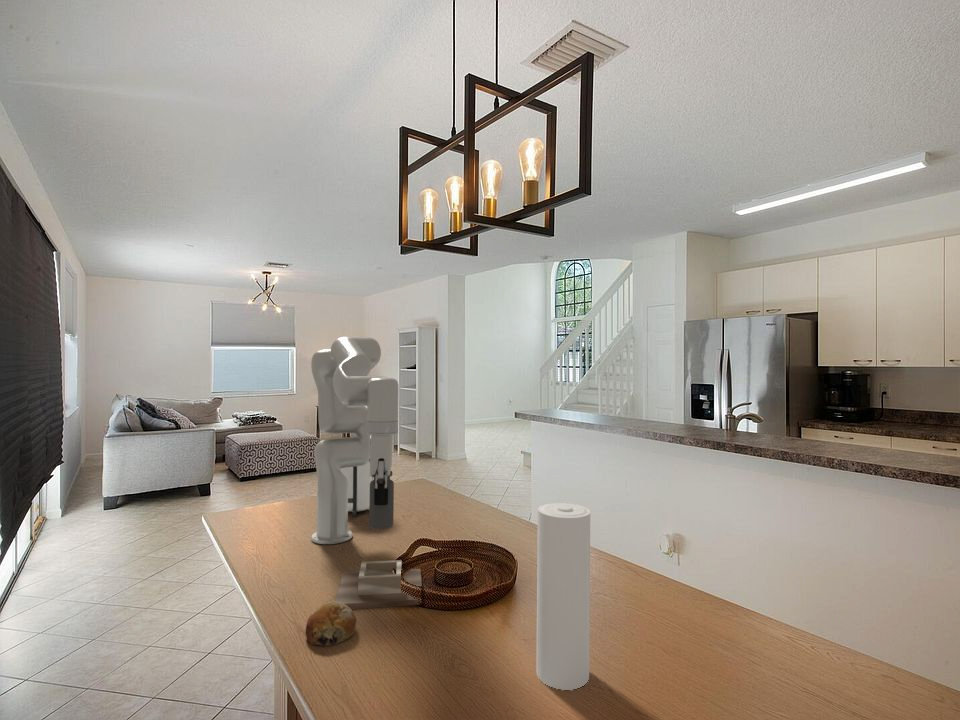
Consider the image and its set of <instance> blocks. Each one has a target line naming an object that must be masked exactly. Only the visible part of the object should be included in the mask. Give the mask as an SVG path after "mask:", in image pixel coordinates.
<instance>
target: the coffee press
mask: <svg viewBox="0 0 960 720" xmlns="http://www.w3.org/2000/svg"><path fill="white" fill-rule="evenodd" d="M352 434H353V433H352ZM353 436H354V434H353ZM370 444H371V440H370ZM340 471H341V472H342V474H343V475H344V476H345V477H346V478H347V481H348V512H352V518H356V517H357V515H358V514H357V512H362V511H367V510H368V509H369V504H370V482H371V481H372V480H374V477H371V476H370V460H369V462H368V463H367V464H366V465H363V466H355V467H345V468H341V469H340Z"/></svg>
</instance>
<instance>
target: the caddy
mask: <svg viewBox="0 0 960 720" xmlns="http://www.w3.org/2000/svg"><path fill="white" fill-rule="evenodd" d="M402 563H403V562H402V559H399V560H398V559H397V560H375V561H372V560H371V561H361V564H360V569H359V571H347V572H346V571H344V572H342V576H341V579H340V583H339V586H338V588H337V592H336V596H335V600H334V602H341V603H343V604H345V605H347V606H348V607H349V608H350V609H351V610H352V609H355V610H356V609H367V608H370V609H371V608H385V607H387V608H388V607H389V608H390V607H402V606H419V605H420V604H419V603H418V600H417V599H414V598H412V597H410V596H408V595H406V594H405V593H403V592H402V591H401V570H402ZM393 568H394V569H395V570H396V574H392V571H393ZM410 569H411V570H410V571H409V572H407V573H406V574H405V576H404V577H403V578H404V580H405V581H406V582H408V583H410V584H413V585H416V586H422V587H423V585H422V583H423V582H422V573H421V572H422V569H421V568H410Z"/></svg>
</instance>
